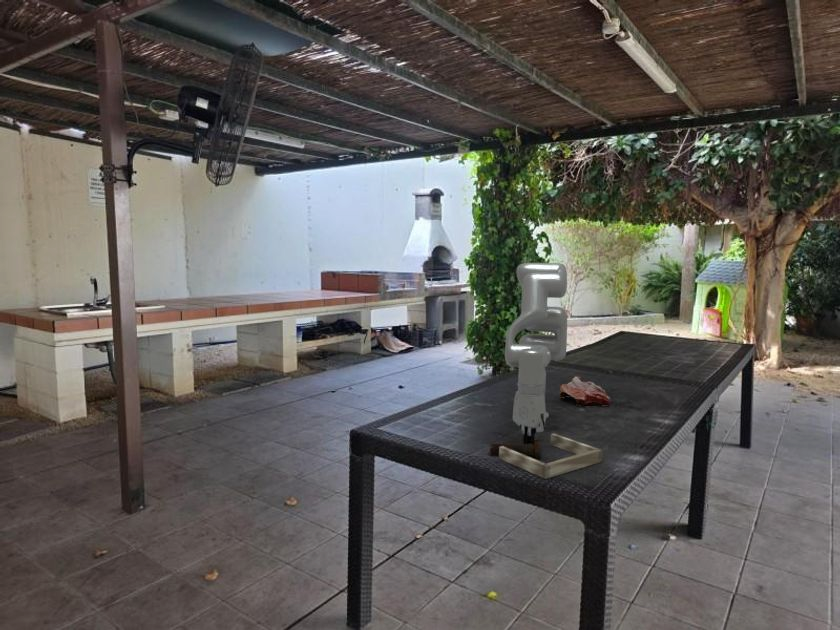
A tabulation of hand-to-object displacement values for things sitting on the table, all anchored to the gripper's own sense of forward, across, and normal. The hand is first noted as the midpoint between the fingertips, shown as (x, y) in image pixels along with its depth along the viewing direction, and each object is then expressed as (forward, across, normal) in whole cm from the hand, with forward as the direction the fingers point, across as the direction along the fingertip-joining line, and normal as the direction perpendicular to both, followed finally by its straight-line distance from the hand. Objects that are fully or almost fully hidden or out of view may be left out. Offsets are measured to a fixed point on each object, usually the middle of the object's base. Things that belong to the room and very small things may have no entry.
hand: (528, 446), depth 166 cm
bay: (+2, +8, 0) cm, 8 cm away
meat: (+2, -31, +66) cm, 73 cm away
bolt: (+2, 0, -6) cm, 7 cm away
